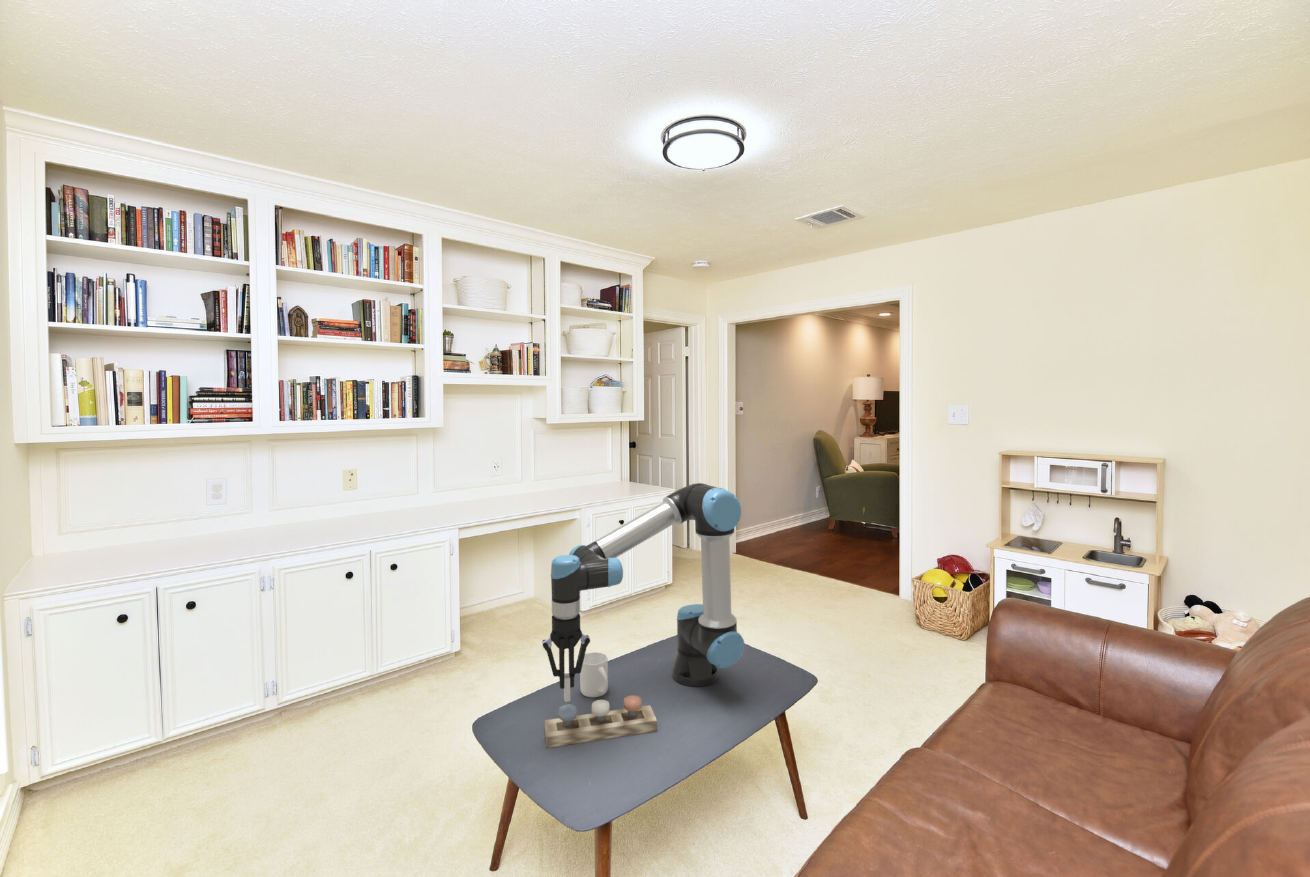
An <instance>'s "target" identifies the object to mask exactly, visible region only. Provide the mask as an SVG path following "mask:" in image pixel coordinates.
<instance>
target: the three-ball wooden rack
mask: <svg viewBox="0 0 1310 877" xmlns="http://www.w3.org/2000/svg"><path fill="white" fill-rule="evenodd" d="M652 732H658V720H657V718H656V715H655V713H654V711H653V708H652V707H651V705H643V706H642V705H641V708H640V709H639V710H638V716H637V717H636V718H629V717H628V711H627V710H625V709H624V708H622V709H615V710H609V713H608V714H607V715H606V721H605V722H603V723H598V722H596V716H595V715H593V714H592V713H586V714H580V715H578V714H577V716H576V718H575V719H573V726H572V727H569V728H565V727H563V721H562V720H560V719H559V717H556V718H549V719H545V720H544V735H545V736H544V737H545V744H546V748H547V749H548V748H555V747H560V746H567V745H574V744H580V743H581V744H582V743H587V742H593V741H599V740H607V739H613V738H620V737H627V736H633V735H639V734H644V733H652Z"/></svg>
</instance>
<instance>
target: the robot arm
mask: <svg viewBox="0 0 1310 877" xmlns="http://www.w3.org/2000/svg"><path fill="white" fill-rule="evenodd" d="M741 516H742V506H741V503H740V501H739V499H738V497H737V496H736V495H735V494H734V493H732V492H731V491H729V490H726V489H725V488H722V487H717V486H714V485H709V484H707V483H700V482H698V483H692V484H689V485H686V486H684V487H681V488H680V489H677V490H675V491H674V492H672V493H670V494H668V495H667V496H665V497H664V498H663V499H662V502H661V503H659V504H657V505H655V506H653V507H652V508H650V509H648V510H647V511H645V512H643V513H642V514H640V515H638V516H637V517H634V518H633V519H631V520H629V521H627V522H626V523H624V524H622V525H621V526H619V527H617V528H615V529H613V530H612V531H611V532H607V533H606V534H605V535H603V536H601V537H600V538H598V539H596V540H594V541H592V542H590V543H589V544H587V545H583V544H580V545H579V544H578V545H576V546H574V547H573V548H572V549H571V550H570V551H569V554H563V555H562V554H561V555H558V556H555V557H554V558H553V559H552V561H551V566H550V567H551V569H550V579H551V580H550V582H551V586H550V587H551V615H552V616H551V632H550V635H549V637H548V638H547V639H543V640H542V641H541V643H542V648H543V649H544V650H545V652H546V654H547V658H548V661H549V664H550V668H551V672H552V675H553V677H558V678H559V687H560V688H559V689H561V690H562V689H563V700H564V702H571V689H573V688H574V687H575V675H580V673H581V669H582V665H583V661H584V656H585V654H586V653H587V647H588V646H589V644H590V642H591V639H590V636H589V635H588V634H586V635H585V634H584V633H583V632H582V630H581V614H580V613H581V595H580V594H581V591H588V590H593V589H595V590H596V589H602V588H607V587H608V588H610V587H614V586H618V585H620V584H621V583H622V581H623V578H624V569H623V564H622V562H621V560H620V558H619V557H620V556H621V555H623V554H625V553H627V552H629V551H631V550H632V549H634V548H635V547H637V546H639V545H640V544H642V543H644V542H645V541H647V540H649V539H650V538H653V537H654V536H655V535H657V534H659V533H661V532H663V531H665V530H666V529H668V528H670V527H671V526H673V525H677V526H678V525H679V526H680V525H681V524H683V523H684V522H687V521H694V522H695V523H694V524H695V525H694V526H695V529H694V530H695V534H696V535H697V536H698V537H699V538H700V551H701V552H700V553H701V554H700V555H701V590H702V604H701V603H699V604H697V603H695V604H688V605H683V606H682V607H680V608H679V609H678V611H677V615H676V616H677V617H676V623H677V624H676V626H677V628H676V632H677V634H676V635H677V636H676V638H677V639H676V642H677V645H676V646H677V647H676V648H677V651H676V652H677V653H676V655H675V658H674V661H673V664H672V667H671V676H672V678H673V680H674V681H676V682H677V683H679V684H681V685H685V686H688V687H704V686H705V687H706V686H709V685H711V684H713V683H715V682H716V681H717V680H718V678H719V668H720V669H727V668H729V667H732V666H734V665H735V664H736V663H737V662H738V661H739V659H741V658H742V655H743V653H744V649H745V641H744V638H743V636H742V635H741V634H740V633H739V632H738V628H737V627H738V626H737V621H738V620H737V617H736V616H735V615H734V614H732V590H731V582H732V581H731V548H730V543H731V542H730V538H731V537H732V536H733V535H734V533H735V528H736V527H737V525H738V522H740V520H741ZM579 641H580V647H579V651H578V654H577V659H576V664H575V647H576V646H577V645H578V643H579ZM552 642H553V643H552ZM553 644H554V645H555V646H556V647H557V648H558V669H557V666H556V661H555V657H554V654H553V651H552V645H553ZM567 649H568V672H566V673H565V650H567Z"/></svg>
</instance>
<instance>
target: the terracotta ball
mask: <svg viewBox="0 0 1310 877" xmlns="http://www.w3.org/2000/svg"><path fill="white" fill-rule="evenodd" d="M641 706H642V698H641V697H640V696H638V695H628V696H626V697H624V699H623V709H625V710H627V711H628V717H629V718H636V717H637V716H638V710H639V709H640V708H641Z"/></svg>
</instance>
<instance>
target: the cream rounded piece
mask: <svg viewBox="0 0 1310 877" xmlns="http://www.w3.org/2000/svg"><path fill="white" fill-rule="evenodd" d="M609 711H610V702H609V701H608V700H606V699H597V700H594V701H592V703H591V714H593V715H595V716H596V722H598V723H603V722H605V721H606V715H607V714H608V713H609Z"/></svg>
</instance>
